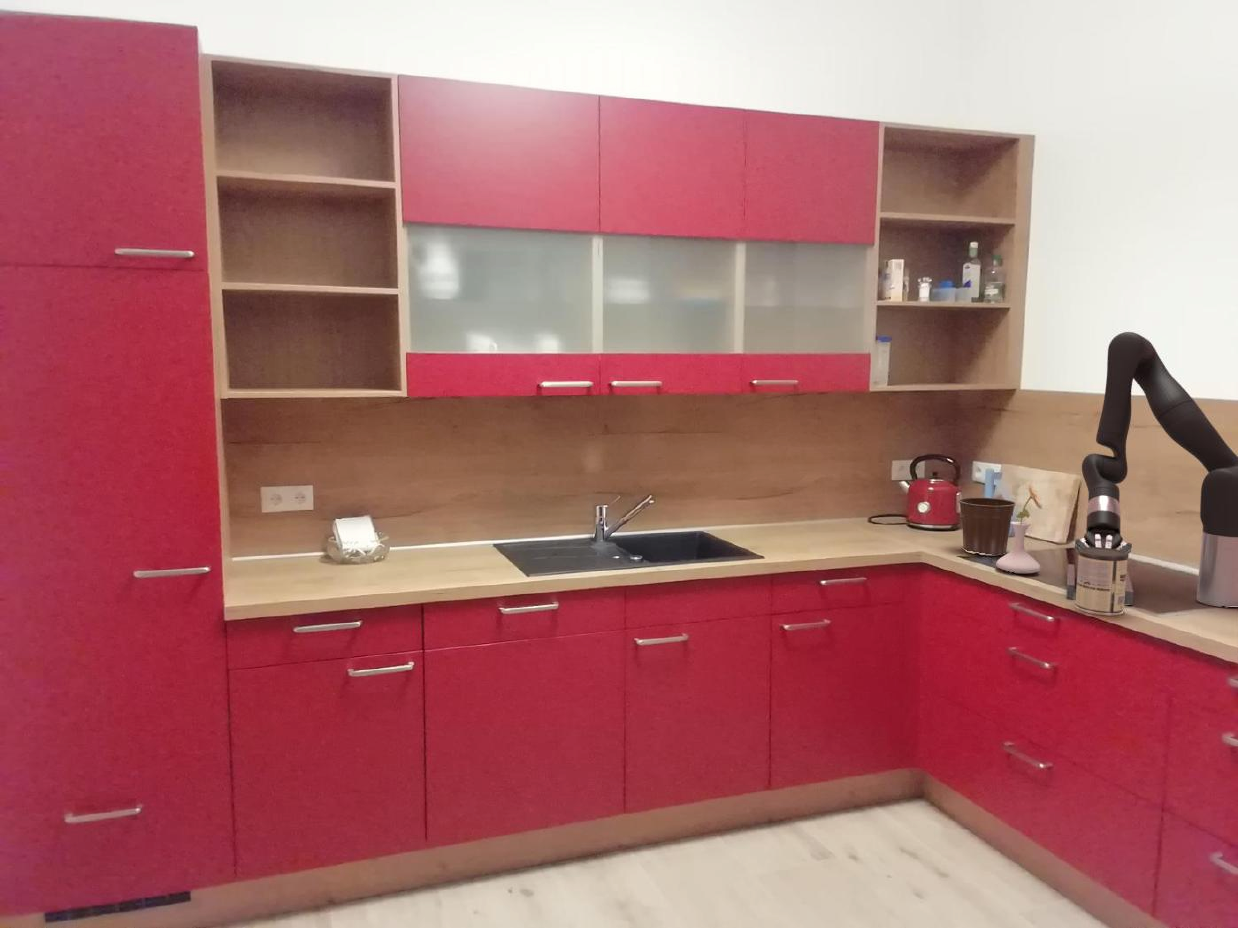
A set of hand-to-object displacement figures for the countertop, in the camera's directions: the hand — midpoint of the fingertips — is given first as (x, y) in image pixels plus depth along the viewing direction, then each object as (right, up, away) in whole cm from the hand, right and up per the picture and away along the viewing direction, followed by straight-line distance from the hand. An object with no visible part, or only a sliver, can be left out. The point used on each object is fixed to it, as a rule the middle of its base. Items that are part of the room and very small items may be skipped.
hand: (1102, 574), depth 210 cm
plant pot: (-5, -1, +56) cm, 57 cm away
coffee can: (-4, -8, -6) cm, 11 cm away
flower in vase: (-5, -3, +32) cm, 33 cm away
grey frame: (+5, -6, +12) cm, 14 cm away
